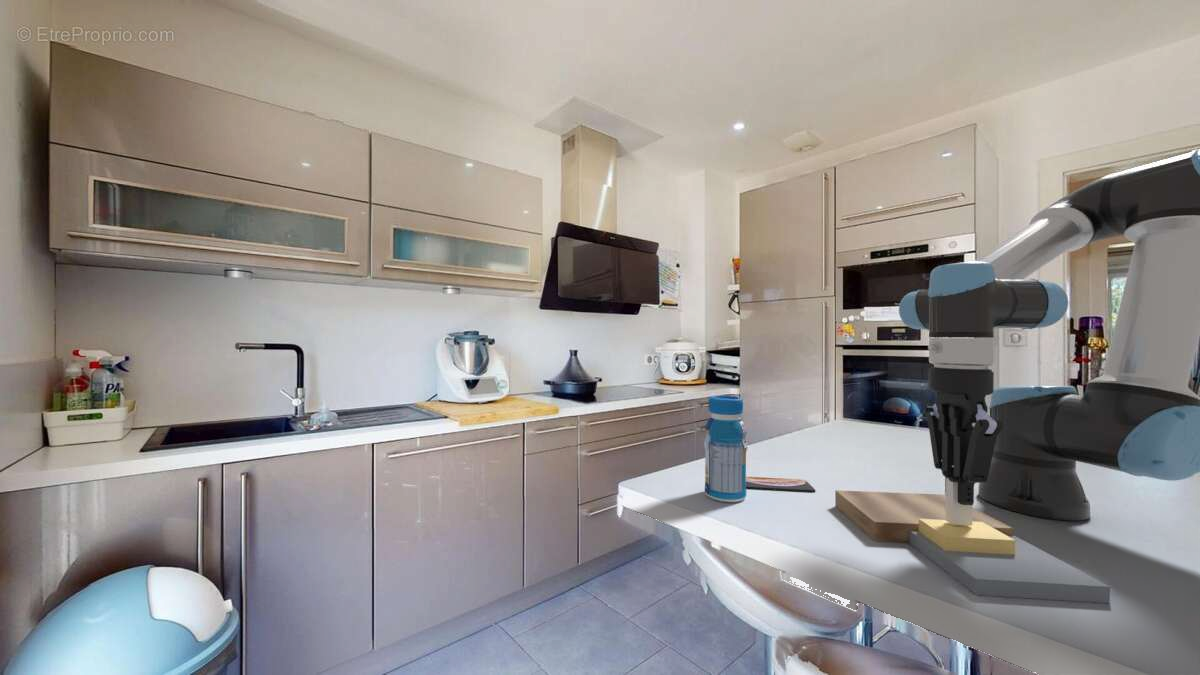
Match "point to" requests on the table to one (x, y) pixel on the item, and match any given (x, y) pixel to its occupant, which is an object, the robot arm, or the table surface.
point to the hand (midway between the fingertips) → (958, 522)
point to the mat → (1015, 573)
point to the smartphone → (778, 484)
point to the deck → (899, 513)
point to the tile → (966, 537)
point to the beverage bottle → (725, 450)
